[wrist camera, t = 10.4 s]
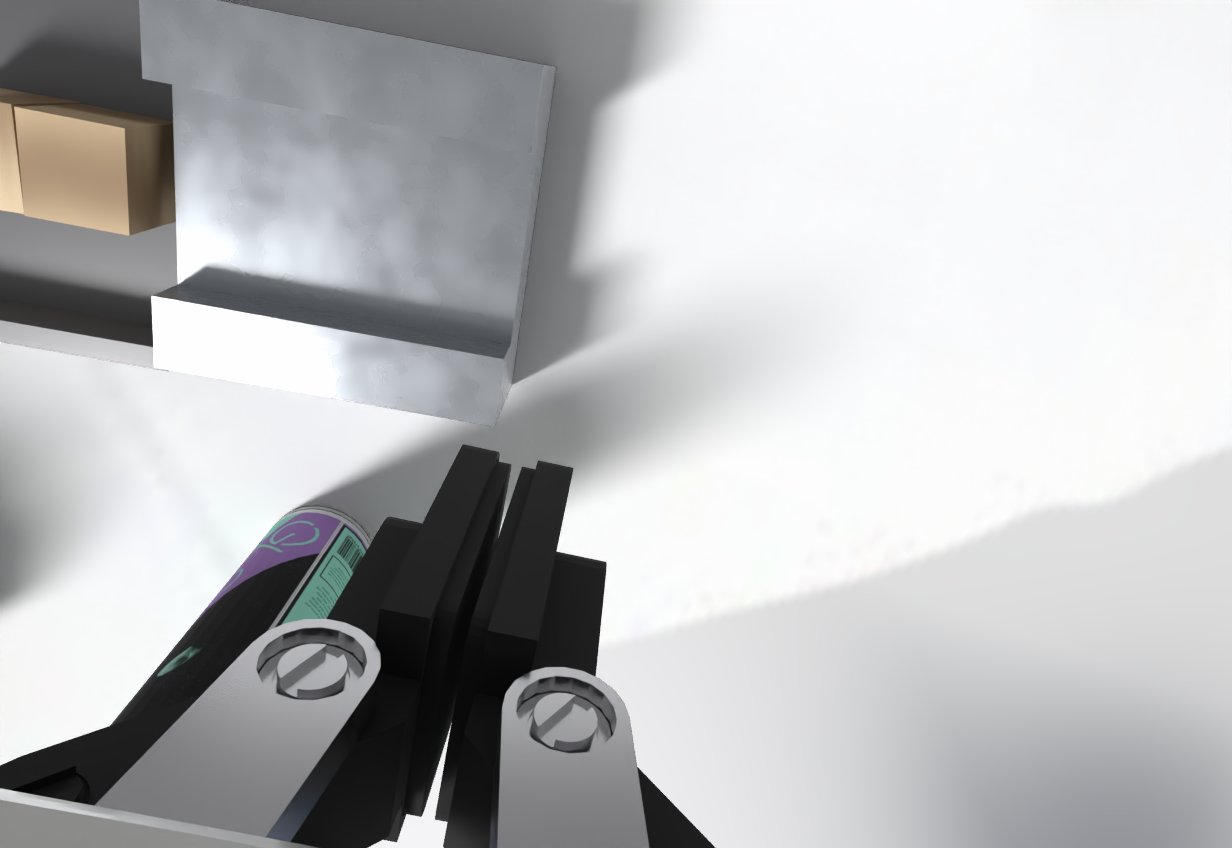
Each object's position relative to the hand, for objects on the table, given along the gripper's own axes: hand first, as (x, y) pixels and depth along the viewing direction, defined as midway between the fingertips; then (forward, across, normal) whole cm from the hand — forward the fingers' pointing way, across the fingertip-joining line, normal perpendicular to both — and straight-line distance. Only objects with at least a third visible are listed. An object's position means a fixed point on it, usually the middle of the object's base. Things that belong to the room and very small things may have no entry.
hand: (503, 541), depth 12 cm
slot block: (+25, +10, +2) cm, 27 cm away
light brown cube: (+25, +20, +2) cm, 32 cm away
